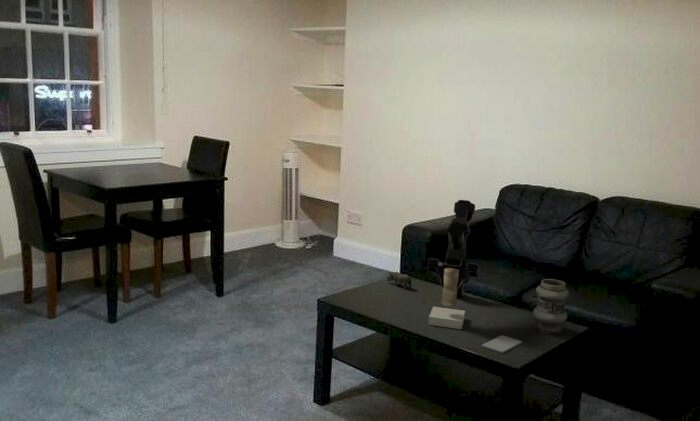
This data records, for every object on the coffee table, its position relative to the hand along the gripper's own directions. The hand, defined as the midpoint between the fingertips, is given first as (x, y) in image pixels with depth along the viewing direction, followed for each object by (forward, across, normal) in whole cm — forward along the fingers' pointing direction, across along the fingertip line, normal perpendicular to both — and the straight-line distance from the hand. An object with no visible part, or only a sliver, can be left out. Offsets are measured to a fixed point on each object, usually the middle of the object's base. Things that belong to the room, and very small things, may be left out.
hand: (449, 287), depth 244 cm
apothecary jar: (+4, +36, +16) cm, 40 cm away
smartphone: (+20, +20, 0) cm, 28 cm away
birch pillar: (+4, 0, +6) cm, 7 cm away
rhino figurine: (-17, -25, +36) cm, 47 cm away
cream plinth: (+9, 0, +10) cm, 13 cm away
